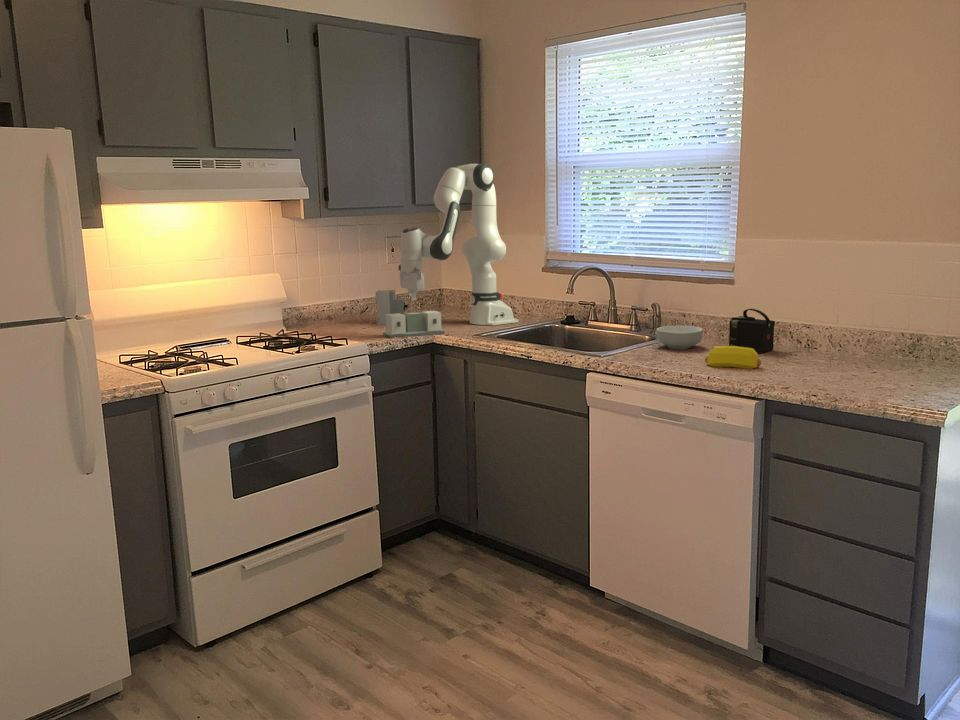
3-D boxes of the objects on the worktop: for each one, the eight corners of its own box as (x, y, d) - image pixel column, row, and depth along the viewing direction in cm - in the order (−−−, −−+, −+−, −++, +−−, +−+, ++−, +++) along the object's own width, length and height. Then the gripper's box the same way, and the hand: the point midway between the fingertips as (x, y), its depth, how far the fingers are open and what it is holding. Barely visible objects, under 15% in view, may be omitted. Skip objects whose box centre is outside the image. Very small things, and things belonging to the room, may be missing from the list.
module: (419, 329, 352) (419, 312, 350) (423, 331, 347) (423, 313, 346) (404, 330, 349) (403, 313, 348) (408, 332, 344) (407, 314, 343)
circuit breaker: (407, 324, 379) (406, 291, 376) (376, 324, 379) (375, 292, 376) (409, 321, 386) (407, 289, 383) (378, 322, 387) (377, 290, 384)
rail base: (436, 330, 358) (435, 310, 356) (444, 333, 349) (444, 312, 347) (383, 335, 348) (382, 314, 346) (390, 338, 339) (389, 316, 337)
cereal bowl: (651, 344, 315) (651, 325, 314) (693, 343, 316) (694, 324, 315) (663, 352, 299) (663, 332, 297) (708, 350, 299) (709, 331, 298)
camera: (741, 345, 308) (743, 306, 306) (776, 350, 298) (778, 309, 296) (725, 349, 301) (727, 308, 298) (761, 354, 291) (763, 312, 288)
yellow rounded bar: (759, 370, 264) (762, 366, 271) (760, 350, 262) (763, 346, 269) (702, 367, 271) (706, 362, 278) (703, 347, 270) (707, 343, 277)
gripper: (427, 268, 335) (428, 302, 338) (410, 265, 353) (411, 297, 356) (413, 269, 332) (414, 303, 335) (396, 266, 351) (397, 298, 353)
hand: (412, 300), depth 346 cm, fingers closed
